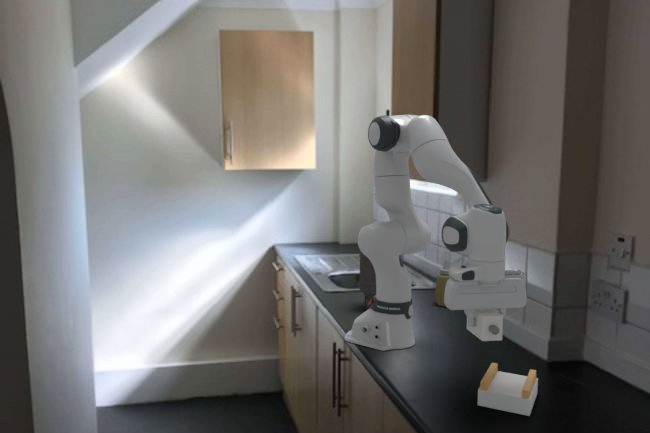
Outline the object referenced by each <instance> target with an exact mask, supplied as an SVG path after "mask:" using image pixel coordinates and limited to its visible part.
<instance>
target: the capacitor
mask: <svg viewBox="0 0 650 433" xmlns="http://www.w3.org/2000/svg"><path fill="white" fill-rule="evenodd" d="M358 283H359V286H358V288H359V290H360V291H361V293H363V295H364V307H363V308H364V309H365V310H366V311H367V310H368V309H370V308H371V304H370V305H369V303H370V302H369V301H370V300H371V299H372V298H373V297H374V296H375V295H376V274H375V270H374V267H373V265H372V263H371V261H370V260H369V258H368V257H366V256H365V255H364V254H363V253H362V252H361V250H360V249H359V279H358Z"/></svg>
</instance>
